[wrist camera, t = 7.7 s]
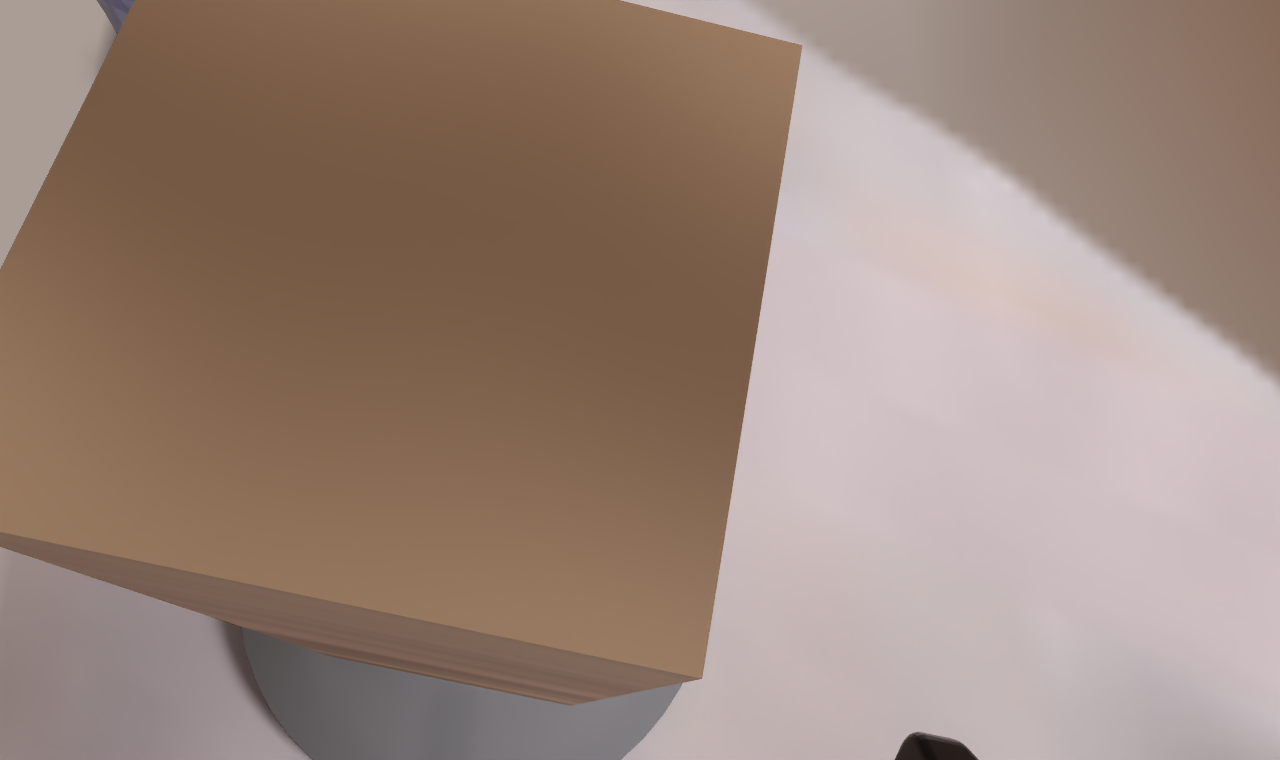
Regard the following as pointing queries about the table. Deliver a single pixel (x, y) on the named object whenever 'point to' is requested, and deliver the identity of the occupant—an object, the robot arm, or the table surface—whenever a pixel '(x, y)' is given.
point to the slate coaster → (435, 713)
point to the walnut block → (403, 328)
